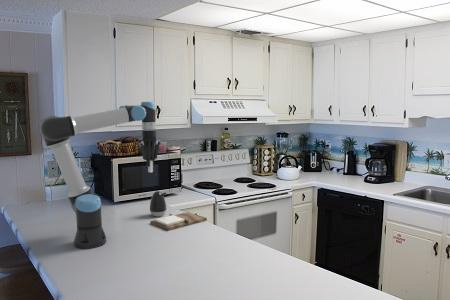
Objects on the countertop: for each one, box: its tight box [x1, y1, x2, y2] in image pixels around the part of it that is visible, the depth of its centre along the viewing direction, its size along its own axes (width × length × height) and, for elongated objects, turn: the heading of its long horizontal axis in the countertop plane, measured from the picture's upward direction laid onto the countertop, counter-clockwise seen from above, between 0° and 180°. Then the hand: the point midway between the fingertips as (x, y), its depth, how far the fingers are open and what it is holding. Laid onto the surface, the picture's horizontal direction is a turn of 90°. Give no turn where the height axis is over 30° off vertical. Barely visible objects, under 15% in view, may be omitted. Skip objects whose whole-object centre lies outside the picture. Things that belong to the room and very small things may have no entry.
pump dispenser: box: [149, 190, 167, 218], centre depth 242 cm, size 10×10×15 cm
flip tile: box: [154, 214, 185, 226], centre depth 224 cm, size 12×12×1 cm
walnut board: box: [150, 211, 208, 232], centre depth 228 cm, size 27×18×3 cm, turn 132°
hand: (150, 172), depth 220 cm, fingers closed
